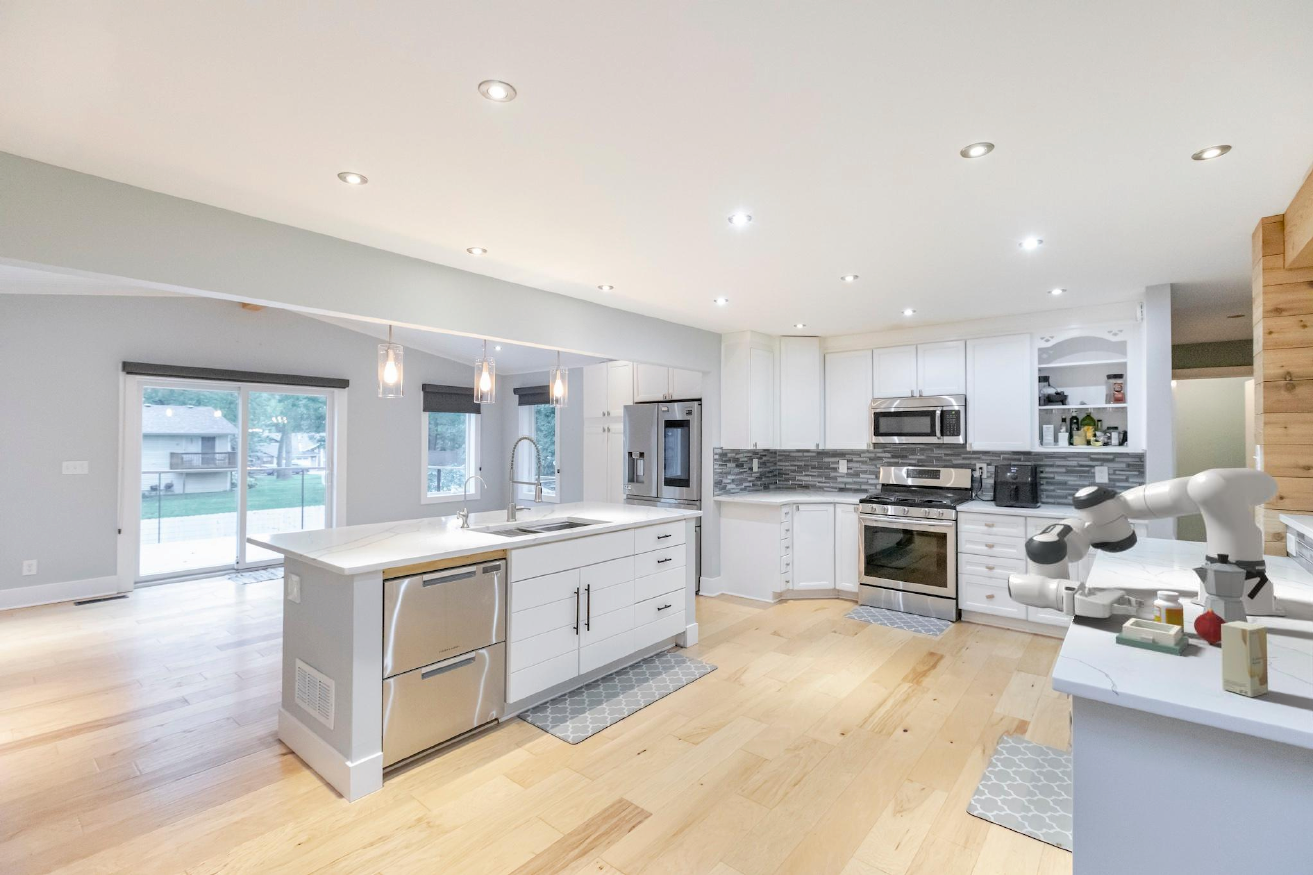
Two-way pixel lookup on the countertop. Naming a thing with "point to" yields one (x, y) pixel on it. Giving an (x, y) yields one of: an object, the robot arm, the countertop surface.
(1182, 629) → the supplement bottle
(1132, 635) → the board
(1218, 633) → the onion
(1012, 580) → the robot arm
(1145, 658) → the countertop surface
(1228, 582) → the coffee maker
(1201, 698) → the countertop surface
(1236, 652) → the skincare box
